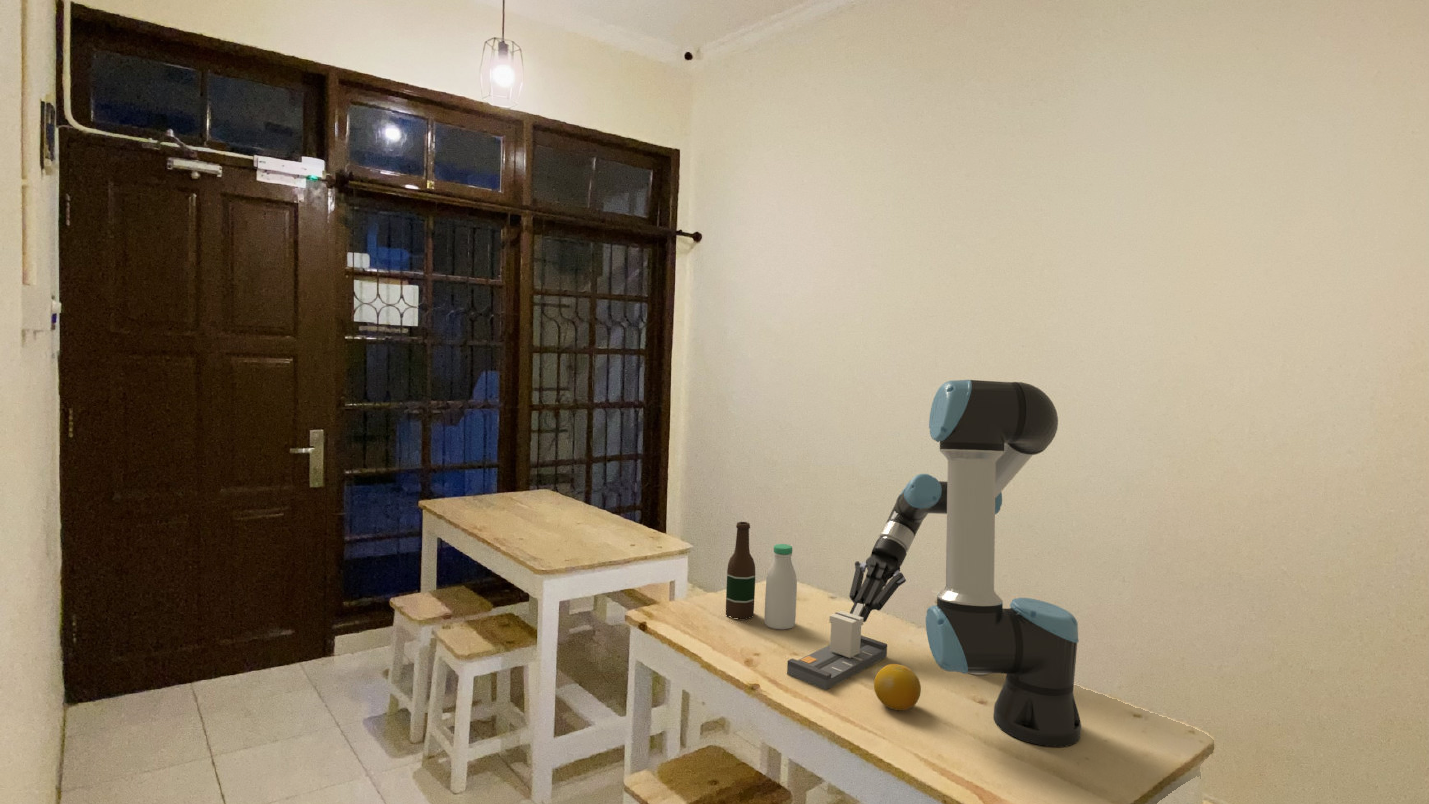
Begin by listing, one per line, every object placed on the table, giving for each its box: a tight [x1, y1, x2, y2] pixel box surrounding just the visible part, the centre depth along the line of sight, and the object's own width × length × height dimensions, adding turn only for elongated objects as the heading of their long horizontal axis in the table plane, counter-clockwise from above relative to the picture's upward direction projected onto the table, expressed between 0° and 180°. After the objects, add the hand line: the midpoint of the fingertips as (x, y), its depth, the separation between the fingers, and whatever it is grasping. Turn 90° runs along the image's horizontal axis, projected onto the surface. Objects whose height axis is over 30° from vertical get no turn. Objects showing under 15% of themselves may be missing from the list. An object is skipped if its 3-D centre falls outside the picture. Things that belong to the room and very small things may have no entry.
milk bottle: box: [763, 543, 798, 630], centre depth 189 cm, size 8×8×20 cm
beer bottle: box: [725, 521, 756, 620], centre depth 194 cm, size 8×8×24 cm
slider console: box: [786, 634, 888, 691], centre depth 167 cm, size 24×10×3 cm, turn 137°
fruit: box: [873, 663, 922, 711], centre depth 149 cm, size 9×8×8 cm
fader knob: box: [828, 610, 864, 658], centre depth 168 cm, size 5×6×8 cm
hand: (850, 631), depth 171 cm, fingers closed
